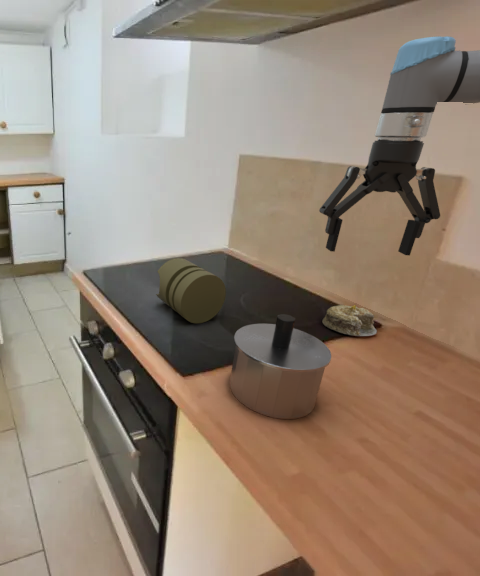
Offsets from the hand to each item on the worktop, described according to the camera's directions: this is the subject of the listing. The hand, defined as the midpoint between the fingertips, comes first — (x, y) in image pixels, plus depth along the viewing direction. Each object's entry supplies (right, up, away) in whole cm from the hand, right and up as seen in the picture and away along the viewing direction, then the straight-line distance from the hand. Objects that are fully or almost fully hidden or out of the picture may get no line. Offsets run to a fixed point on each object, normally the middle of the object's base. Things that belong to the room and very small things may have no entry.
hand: (366, 251), depth 77 cm
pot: (-27, -24, -16) cm, 40 cm away
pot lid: (-27, -16, -19) cm, 37 cm away
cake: (-1, -16, +4) cm, 17 cm away
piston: (-34, -13, +12) cm, 38 cm away
